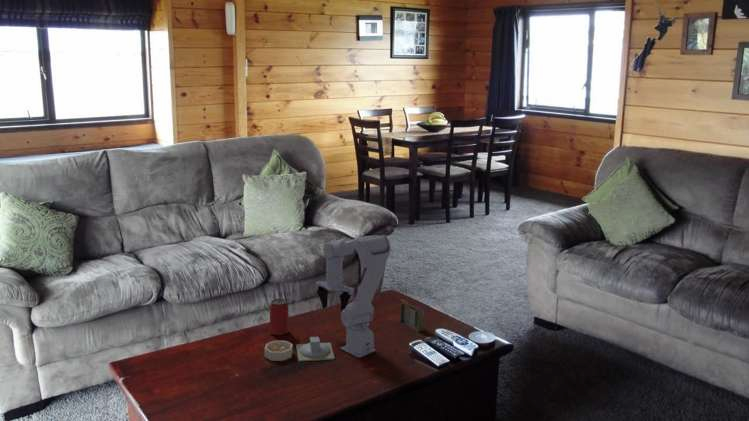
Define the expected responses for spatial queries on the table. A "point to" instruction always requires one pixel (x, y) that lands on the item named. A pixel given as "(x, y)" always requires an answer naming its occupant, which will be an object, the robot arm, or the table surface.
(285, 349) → the bowl
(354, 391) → the table surface
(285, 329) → the beer can
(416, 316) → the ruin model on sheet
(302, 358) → the mat
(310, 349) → the lid
